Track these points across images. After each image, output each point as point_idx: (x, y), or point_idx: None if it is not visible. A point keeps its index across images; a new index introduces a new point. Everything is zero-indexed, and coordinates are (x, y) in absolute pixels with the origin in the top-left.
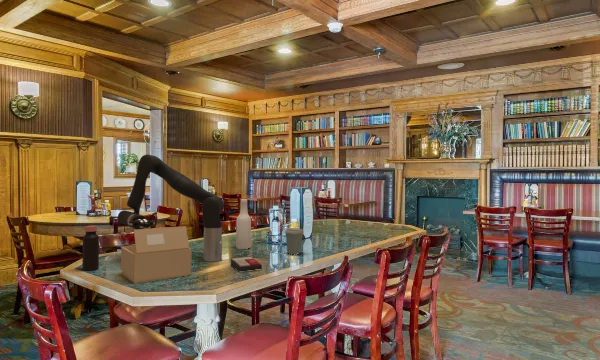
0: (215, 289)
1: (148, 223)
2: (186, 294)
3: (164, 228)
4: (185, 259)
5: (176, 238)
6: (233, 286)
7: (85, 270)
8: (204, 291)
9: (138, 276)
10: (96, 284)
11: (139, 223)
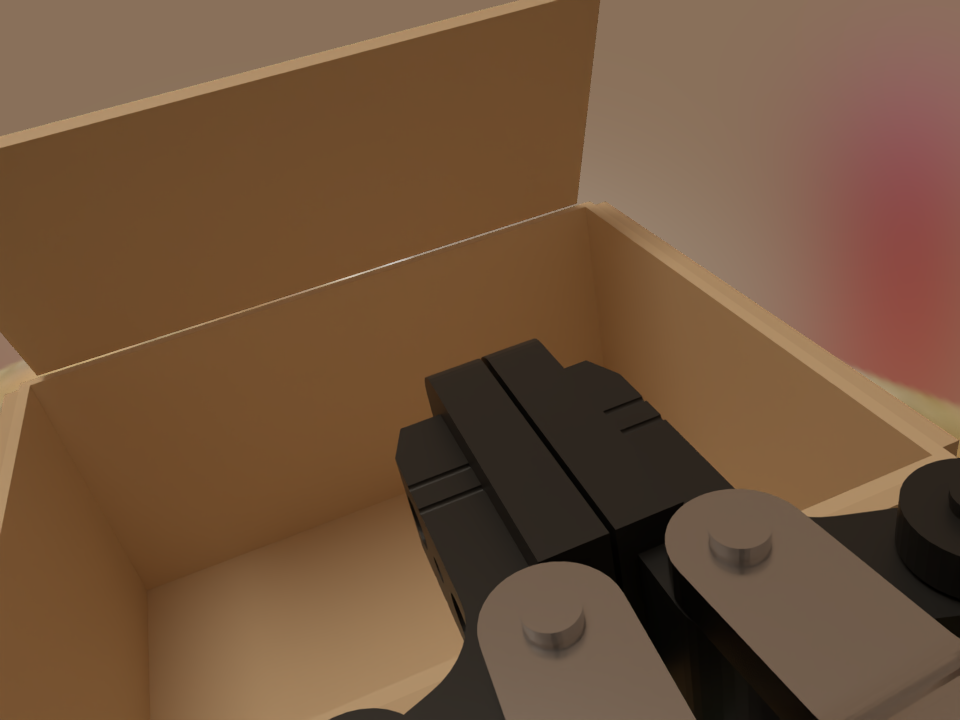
0: (142, 343)
1: (443, 374)
2: (304, 292)
3: (221, 90)
4: (133, 453)
5: (127, 242)
6: (27, 379)
7: None
8: (207, 322)
9: None
10: (926, 407)
11: (895, 510)
